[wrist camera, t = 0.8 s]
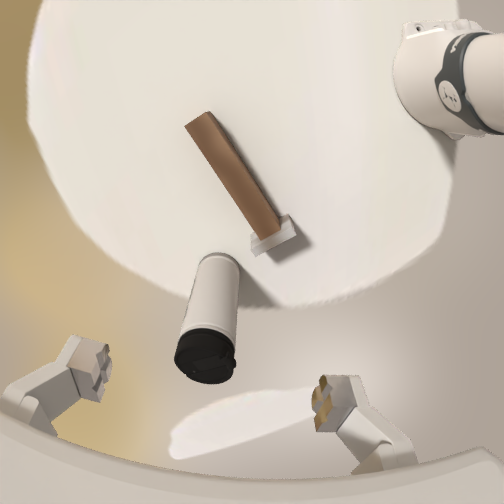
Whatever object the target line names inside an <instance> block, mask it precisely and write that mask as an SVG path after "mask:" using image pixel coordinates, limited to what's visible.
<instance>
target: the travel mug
mask: <svg viewBox="0 0 504 504" xmlns="http://www.w3.org/2000/svg"><path fill="white" fill-rule="evenodd" d="M239 275H240V269H239V266H238V263H237V262H236V261H235V259H233V258H232V257H231V256H229V255H227V254H225V253H211V254H209V255H207V256H205V257H204V258H203V259H202V260H201V262H200V264H199V267H198V270H197V274H196V277H195V281H194V284H193V288H192V291H191V295H190V298H189V302H188V306H187V309H186V313H185V316H184V320H183V324H182V328H181V331H180V335H179V339H178V346H177V349H176V353H175V357H174V361H175V364H176V366H177V367H178V368H179V369H180V370H181V371H182V372H183V373H184V374H186V376H187V377H188V378H190V379H192V380H194V381H196V382H200V383H204V384H220V383H223V382H225V381H227V380H229V379H230V378H231V376H232V375H233V369H234V368H235V367H236V360H235V359H234V353H235V343H236V342H235V341H236V325H237V308H238V291H239Z"/></svg>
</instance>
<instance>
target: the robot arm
mask: <svg viewBox="0 0 504 504" xmlns="http://www.w3.org/2000/svg"><path fill="white" fill-rule="evenodd" d="M416 27H417V28H418V29H419V31H417V29H416ZM393 77H394V84H395V88H396V91H397V93H398V96H399V98H400V100H401V102H402V104H403V105H404V107H405V108H406V110H407V111H408V112H409V113H410V114H411V115H412V116H413V117H414V118H415V119H416V120H417V121H419V122H420V123H422V124H424V125H426V126H428V127H431V128H435V129H439V130H441V131H443V132H444V133H445V134H446V135H447V136H448V137H450V138H451V139H453V140H460V139H461V138H462V137H464V136H465V135H468V136H475V137H484V135H485V134H486V133H488V134H495V135H504V33H497V34H494V33H492V32H491V31H488V30H483V29H482V28H481V27H480V26H479V25H478V24H477V23H476V22H474V21H469V20H468V19H460V20H455V21H416V22H407V23H404V24H403V27H402V42H401V45H400V47H399V49H398V51H397V53H396V56H395V59H394V65H393ZM109 351H110V350H109V346H108V344H105V343H101V342H98V341H95V340H91V339H88V338H83V337H80V336H77V335H74V334H73V335H71V336H70V337H69V339H68V341H67V342H66V344H65V346H64V347H63V349H62V351H61V352H60V354H59V356H58V358H57V360H56V361H55V363H53V362H50V363H48V364H47V365H45V366H43V367H41V368H39V369H37V370H35V371H34V372H32V373H30V374H28V375H26V376H24V377H22V378H20V379H19V380H17V381H15V382H13V383H11V384H9V385H8V386H7V388H6V390H5V391H4V393H3V395H2V397H1V398H0V504H504V463H503V461H502V460H500V459H499V458H498V457H497V456H496V455H494V454H493V453H492V452H490V451H489V450H487V449H486V448H484V447H476V448H472V449H470V450H466V451H463V452H460V453H457V454H454V455H450V456H447V457H444V458H440V459H436V460H432V461H428V462H424V463H420V464H419V463H418V461H417V457H416V454H415V451H414V448H413V446H412V443H411V440H410V439H409V438H408V437H407V436H406V435H404V434H403V433H402V432H401V431H400V430H399V429H398V428H397V427H395V426H394V425H393V424H392V423H391V422H390V421H389V420H388V419H386V418H385V417H384V416H383V415H382V414H381V413H380V412H378V410H376V409H375V408H374V407H370V405H369V402H368V399H367V396H366V393H365V390H364V387H363V384H362V381H361V378H360V377H359V376H358V375H355V376H354V375H322V376H321V378H320V380H319V384H320V385H319V386H317V387H315V389H314V391H313V394H312V410H313V411H314V412H315V413H316V416H315V418H314V422H315V428H316V432H336V434H337V435H338V437H339V438H340V439H341V440H342V441H343V443H344V444H345V445H346V446H347V448H348V449H349V450H350V451H351V452H352V454H353V455H354V456H355V457H356V459H357V460H358V461H359V462H360V464H359V465H358V466H357V467H356V468H355V469H354V470H353V471H352V472H351V475H350V476H340V477H328V478H312V479H253V478H237V477H225V476H215V475H205V474H198V473H191V472H185V471H178V470H173V469H167V468H162V467H157V466H152V465H147V464H143V463H139V462H134V461H130V460H126V459H122V458H119V457H115V456H111V455H108V454H105V453H101V452H98V451H95V450H92V449H88V448H85V447H83V446H80V445H77V444H74V443H71V442H68V441H66V440H63V439H60V438H58V437H57V435H58V434H57V432H56V430H55V429H54V427H53V426H52V424H51V421H52V420H54V419H55V418H56V417H58V416H59V415H60V414H62V413H63V412H64V411H65V410H67V409H68V408H69V407H70V406H72V405H73V404H74V403H75V402H77V401H78V400H79V399H80V397H81V398H84V399H88V400H91V401H95V402H99V403H100V401H101V399H102V396H103V394H104V391H105V388H104V383H106V382H108V381H109V378H110V375H111V370H112V361H111V358H110V357H109V356H108V353H109Z"/></svg>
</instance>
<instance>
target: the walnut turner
mask: <svg viewBox="0 0 504 504" xmlns="http://www.w3.org/2000/svg"><path fill="white" fill-rule="evenodd" d="M184 127H185V128H186V130H187V131H188V132H189V134H190V135H191V137H192V138H193V140H194V141H195V143H196V144H197V146H198V147H199V149H200V150H201V152H202V153H203V155H204V156H205V158H206V159H207V161H208V162H209V164H210V165H211V167H212V168H213V170H214V171H215V173H216V174H217V176H218V177H219V179H220V180H221V182H222V183H223V185H224V186H225V188H226V189H227V191H228V192H229V194H230V195H231V197H232V198H233V200H234V201H235V203H236V204H237V206H238V207H239V209H240V210H241V212H242V213H243V215H244V216H245V218H246V219H247V221H248V222H249V224H250V225H251V227H252V228H253V230H254V233H252V234H251V251H252V252H253V254H254V255H255V257H256V256H258V255H260V254H262V253H264V252H266V251H268V250H269V249H271V248H273V247H275V246H277V245H279V244H281V243H283V242H284V241H286V240H288V239H290V238H292V237H294V236H296V232H295V228H294V225H293V222H292V220H291V218H290V216H289V215H288V214H286V215H284V216H283V217H281V218H279V219H278V217H277V215H276V214H275V212H274V211H273V209H272V207H271V206H270V204H269V202H268V201H267V199H266V198H265V196H264V194H263V193H262V191H261V190H260V188H259V186H258V185H257V183H256V182H255V180H254V178H253V177H252V175H251V174H250V172H249V170H248V169H247V167H246V166H245V164H244V163H243V161H242V160H241V158H240V156H239V155H238V153H237V152H236V150H235V149H234V147H233V146H232V144H231V142H230V141H229V139H228V138H227V136H226V135H225V133H224V132H223V130H222V129H221V127H220V126H219V124H218V123H217V121H216V120H215V118H214V117H213V115H212V114H211V112H210V111H209V112H205V113H203V114H202V115H200V116H199V117H197V118H196V119H194V120H193V121H191V122H190V123H188V124H187V125H185V126H184Z"/></svg>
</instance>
